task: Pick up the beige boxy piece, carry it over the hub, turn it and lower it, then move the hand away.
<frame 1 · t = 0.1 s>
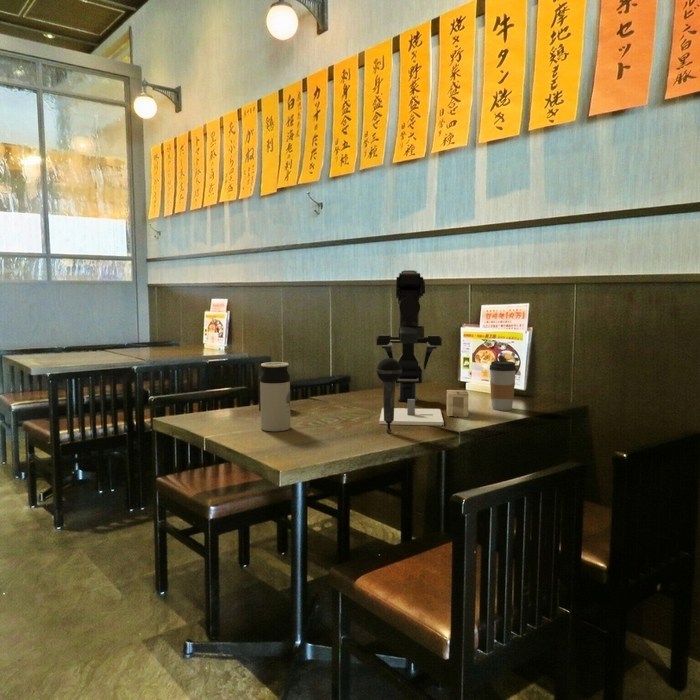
hand: (408, 369, 168), 15 cm above the table, fingers open, 9 cm apart
box: (272, 409, 183), on the table
beige boxy piece: (457, 414, 174), on the table
microphone: (388, 433, 152), on the table
travel mug: (275, 429, 157), on the table
coffee cup: (501, 409, 183), on the table
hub: (411, 417, 170), on the table
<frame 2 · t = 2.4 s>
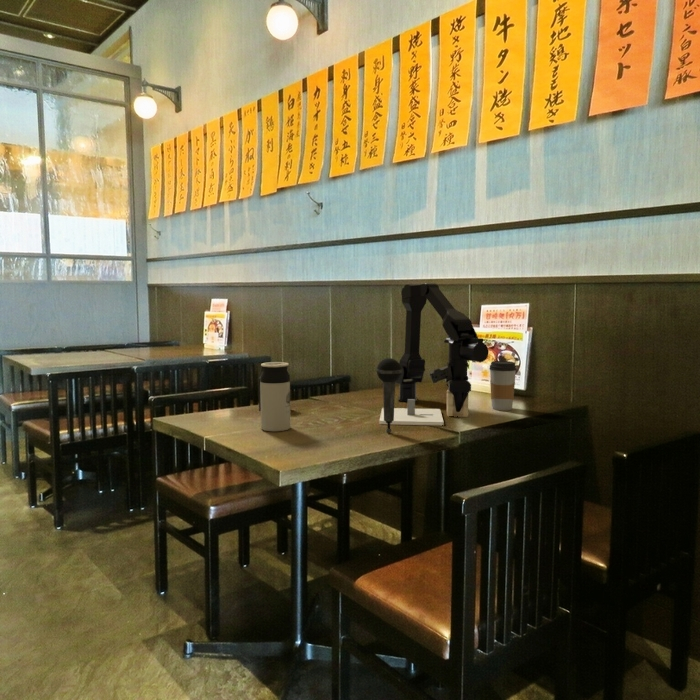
hand: (457, 409, 174), 2 cm above the table, fingers closed on beige boxy piece, 6 cm apart
beige boxy piece: (457, 414, 174), on the table, touching gripper
everything else where it was.
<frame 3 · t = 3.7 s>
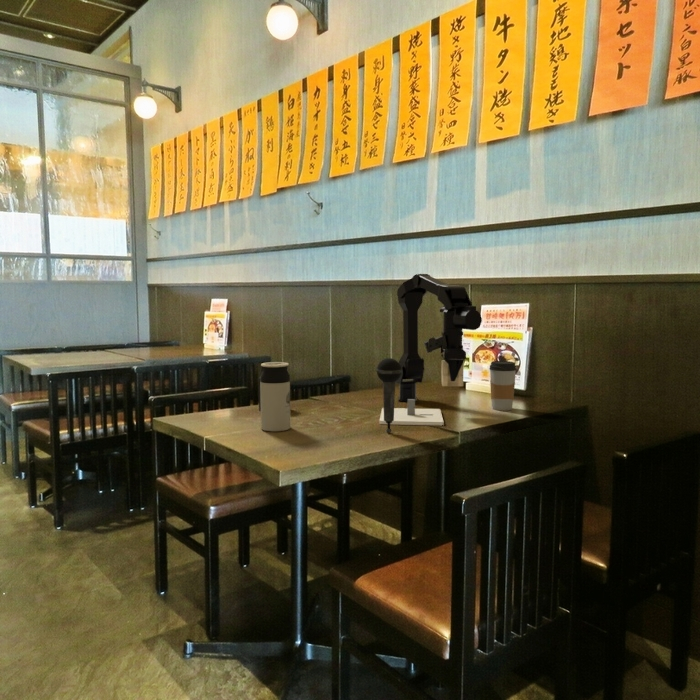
hand: (451, 379, 173), 11 cm above the table, fingers closed on beige boxy piece, 6 cm apart
beige boxy piece: (451, 384, 173), point 9 cm above the table, touching gripper
everything else where it was.
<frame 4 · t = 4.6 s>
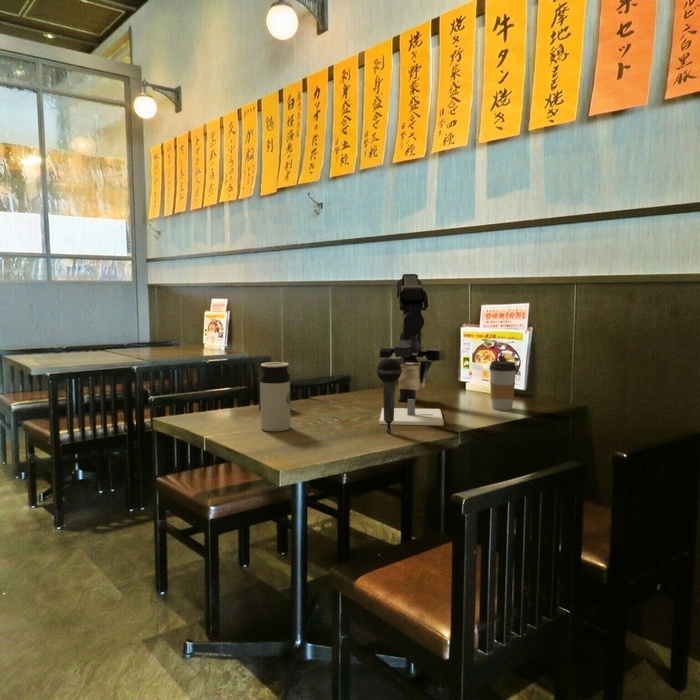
hand: (411, 382, 169), 11 cm above the table, fingers closed on beige boxy piece, 6 cm apart
beige boxy piece: (411, 387, 169), point 9 cm above the table, touching gripper
everything else where it was.
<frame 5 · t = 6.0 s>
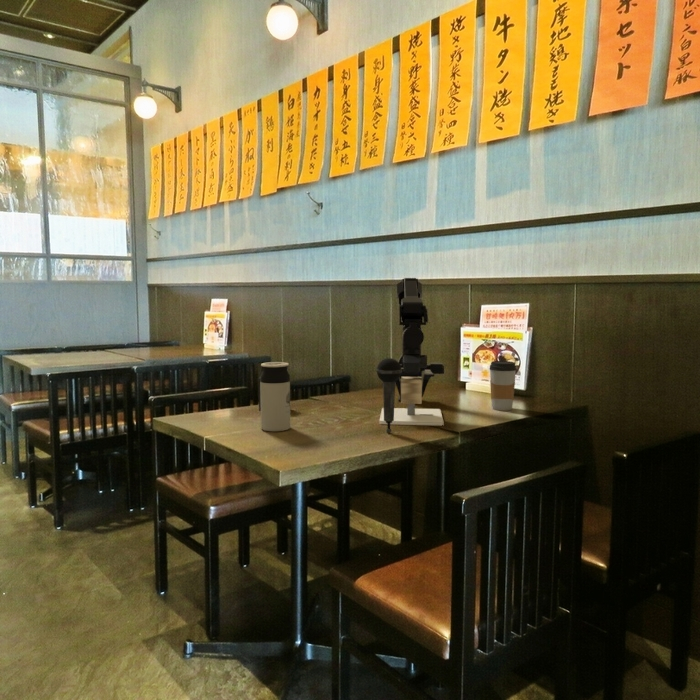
hand: (411, 396, 169), 6 cm above the table, fingers closed on beige boxy piece, 6 cm apart
beige boxy piece: (411, 401, 170), point 5 cm above the table, touching gripper
everything else where it was.
when the fingers open (4 cm above the table, at t = 7.1 s): beige boxy piece drops 1 cm, resting on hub.
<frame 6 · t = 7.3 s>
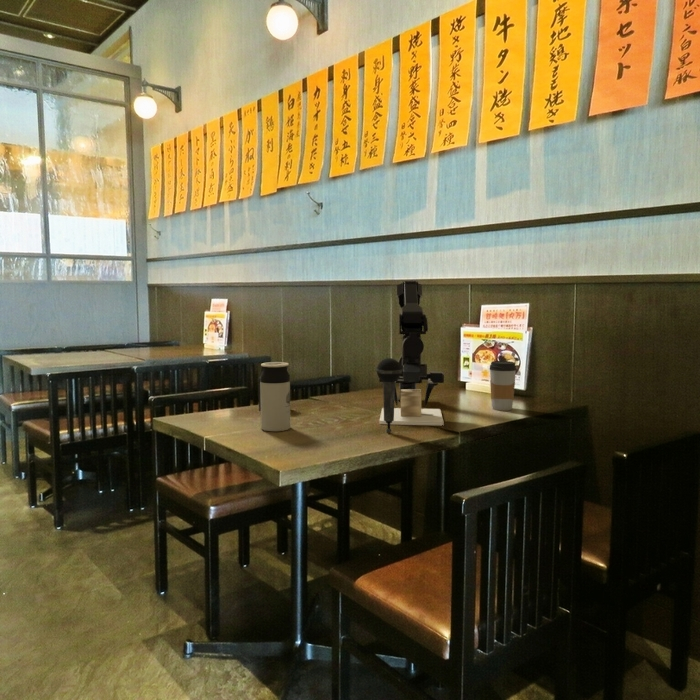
hand: (411, 405, 170), 4 cm above the table, fingers open, 8 cm apart
beige boxy piece: (410, 414, 170), point 1 cm above the table, touching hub
everything else where it was.
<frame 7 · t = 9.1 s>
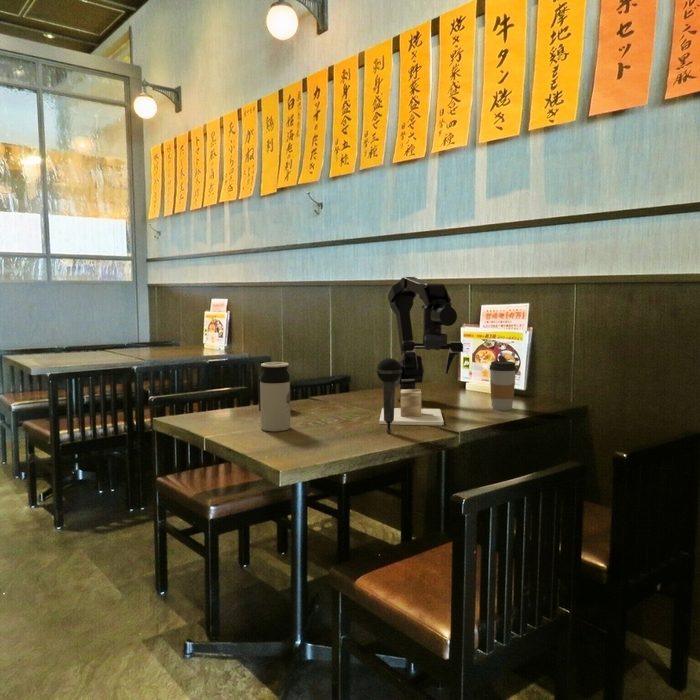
hand: (431, 373, 179), 12 cm above the table, fingers open, 9 cm apart
nothing on the table moved.
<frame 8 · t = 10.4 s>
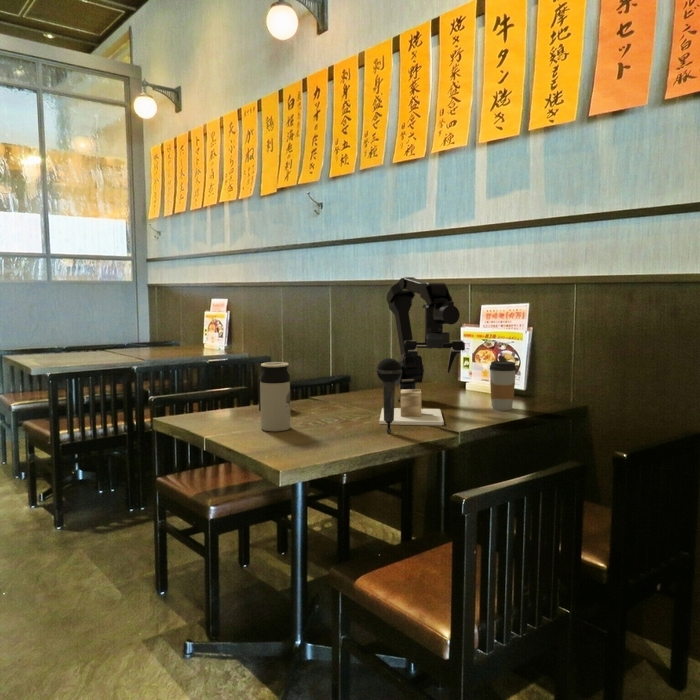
hand: (433, 372, 180), 12 cm above the table, fingers open, 9 cm apart
nothing on the table moved.
at the end: beige boxy piece 0.1 cm off-centre on the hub, point 1.1 cm above the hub's base; beige boxy piece tilted 1°; the gripper is holding nothing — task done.
